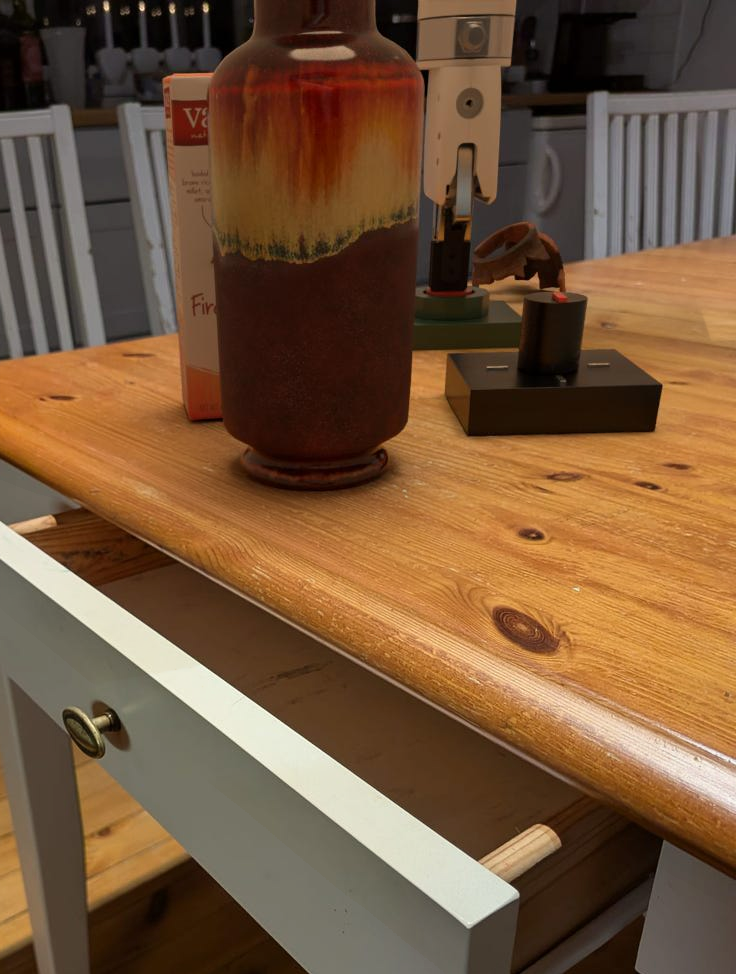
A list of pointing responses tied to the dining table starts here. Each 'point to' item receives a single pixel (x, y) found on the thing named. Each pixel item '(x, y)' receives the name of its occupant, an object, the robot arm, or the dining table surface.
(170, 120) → the cracker box
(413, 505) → the dining table surface
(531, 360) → the browning dial
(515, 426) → the dial console
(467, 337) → the block
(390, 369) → the vase
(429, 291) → the button
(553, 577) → the dining table surface
